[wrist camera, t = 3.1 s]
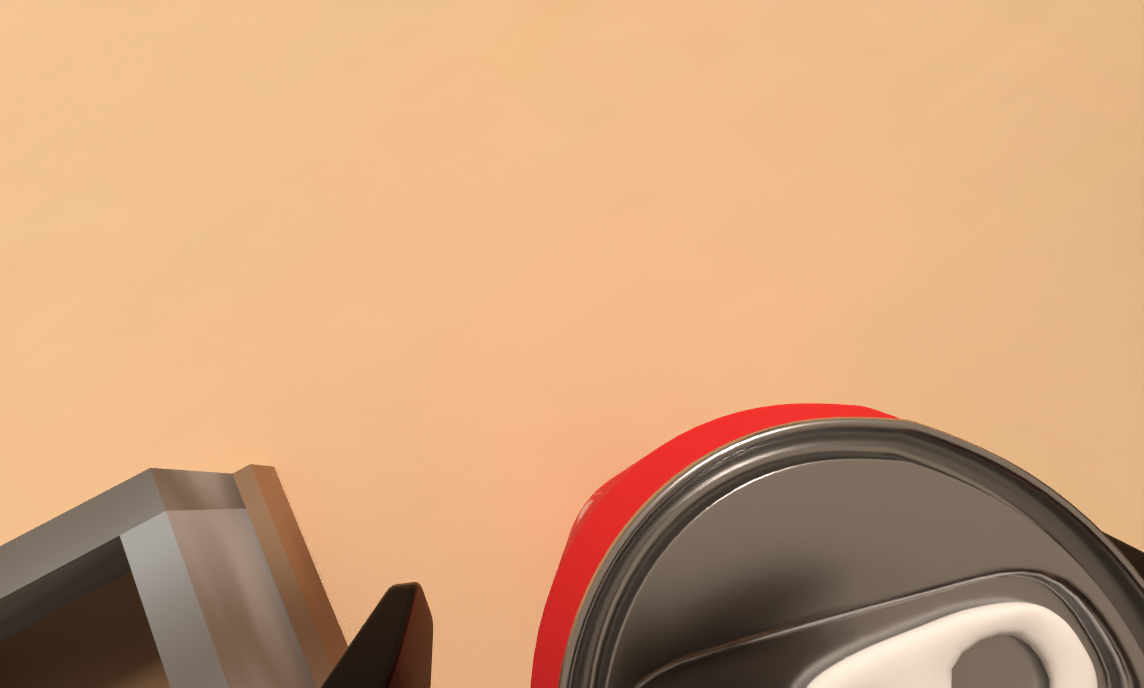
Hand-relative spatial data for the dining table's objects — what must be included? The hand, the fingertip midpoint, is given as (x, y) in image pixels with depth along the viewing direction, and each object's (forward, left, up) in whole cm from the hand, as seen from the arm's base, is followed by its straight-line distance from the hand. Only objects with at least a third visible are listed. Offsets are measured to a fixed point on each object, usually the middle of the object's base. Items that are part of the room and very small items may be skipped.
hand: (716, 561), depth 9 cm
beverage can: (-1, -1, -7) cm, 8 cm away
